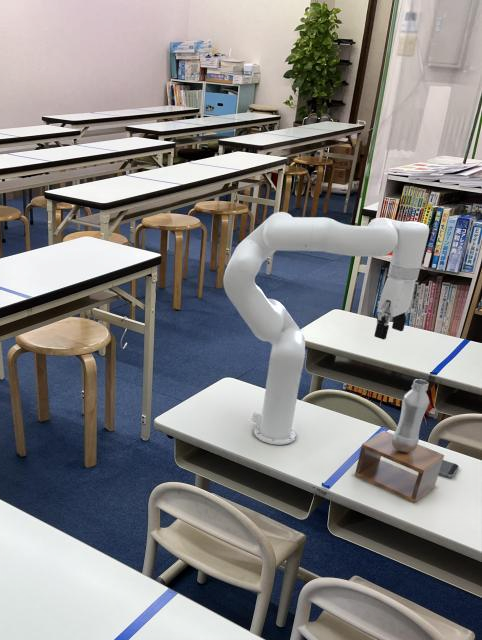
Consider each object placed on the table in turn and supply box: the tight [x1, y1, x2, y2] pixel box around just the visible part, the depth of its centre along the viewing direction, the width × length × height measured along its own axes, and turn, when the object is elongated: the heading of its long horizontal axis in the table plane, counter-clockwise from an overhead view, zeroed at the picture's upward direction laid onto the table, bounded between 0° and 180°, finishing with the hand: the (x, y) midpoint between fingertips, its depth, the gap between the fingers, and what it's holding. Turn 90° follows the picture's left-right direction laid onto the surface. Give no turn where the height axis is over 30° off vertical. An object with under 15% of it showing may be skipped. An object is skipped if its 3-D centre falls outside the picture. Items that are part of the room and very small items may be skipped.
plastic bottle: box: [392, 378, 430, 452], centre depth 184 cm, size 6×7×20 cm
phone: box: [438, 459, 459, 479], centre depth 202 cm, size 8×1×16 cm
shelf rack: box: [354, 430, 445, 504], centre depth 191 cm, size 18×12×10 cm, turn 44°
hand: (388, 333), depth 191 cm, fingers open, 9 cm apart
